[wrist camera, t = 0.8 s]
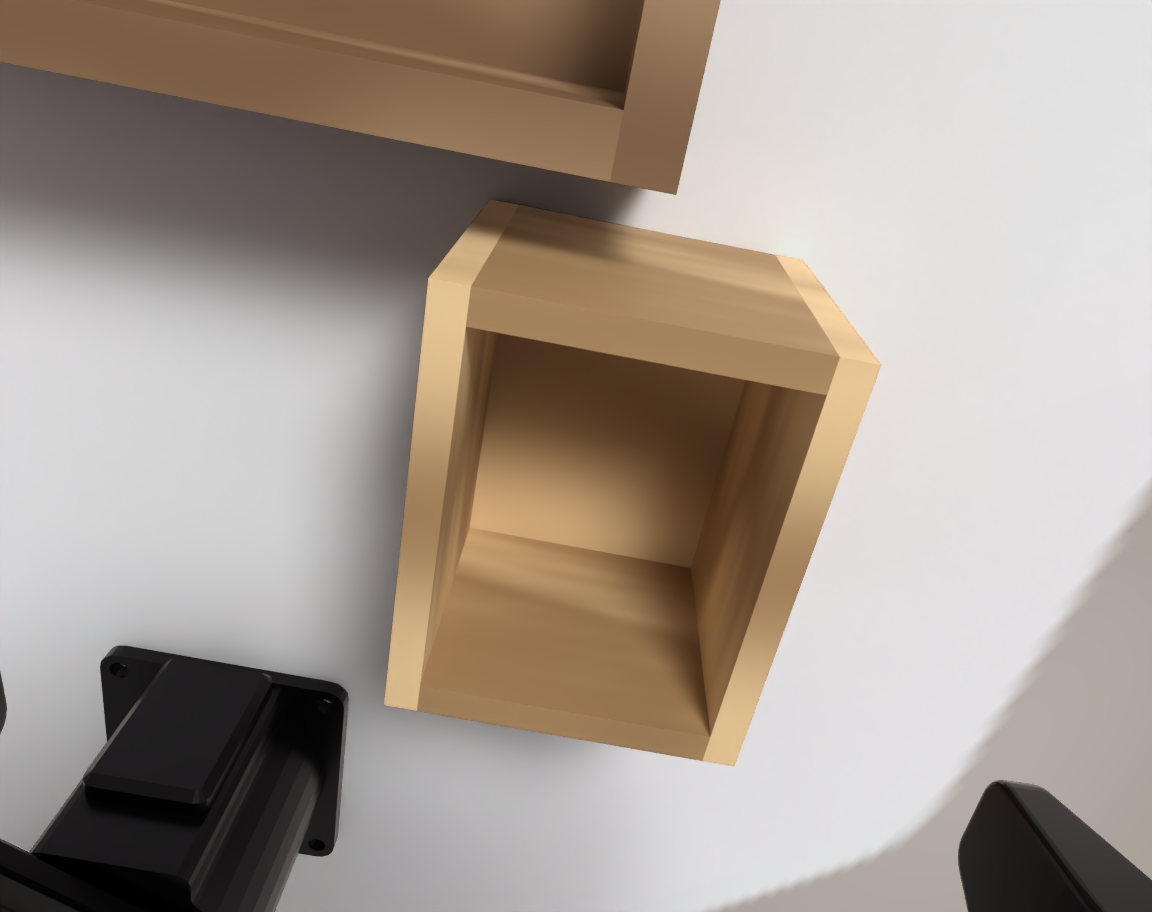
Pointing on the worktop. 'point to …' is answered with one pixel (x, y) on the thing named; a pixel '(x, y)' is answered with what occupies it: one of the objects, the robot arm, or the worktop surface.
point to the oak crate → (615, 479)
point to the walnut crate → (410, 69)
